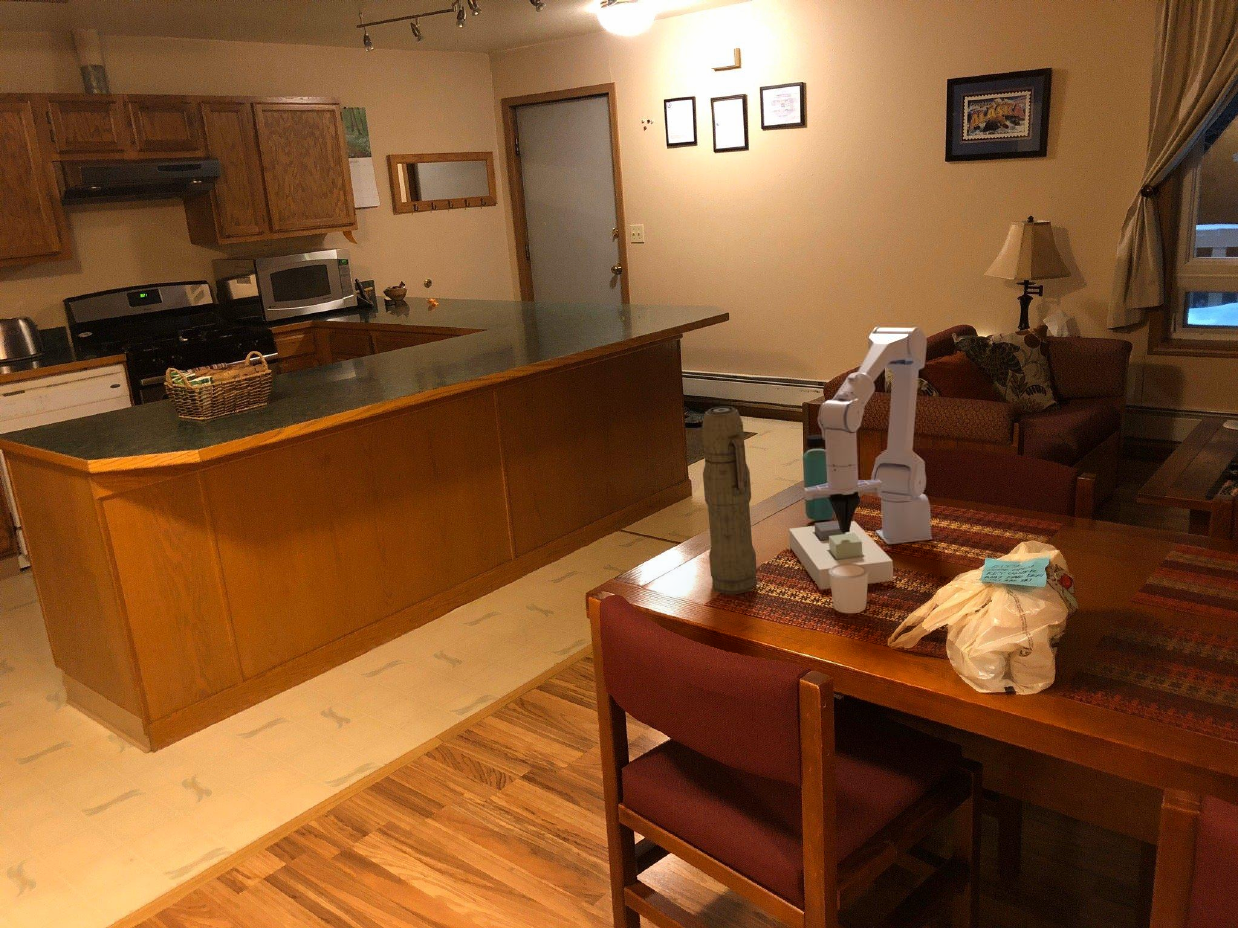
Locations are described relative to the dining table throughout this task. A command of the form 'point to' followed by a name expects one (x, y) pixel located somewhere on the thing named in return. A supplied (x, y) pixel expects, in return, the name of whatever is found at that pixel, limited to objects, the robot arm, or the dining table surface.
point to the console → (821, 559)
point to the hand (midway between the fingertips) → (844, 530)
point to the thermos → (728, 502)
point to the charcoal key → (827, 530)
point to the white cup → (849, 587)
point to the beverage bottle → (816, 478)
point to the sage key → (845, 546)
